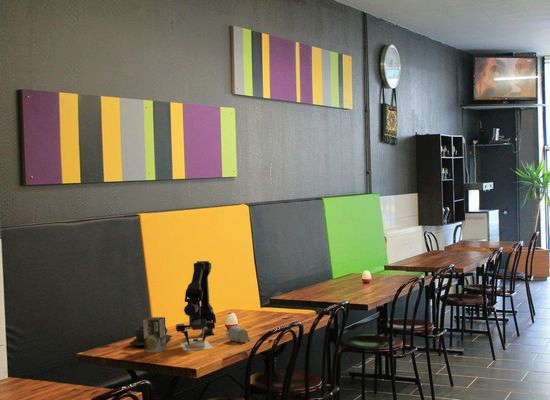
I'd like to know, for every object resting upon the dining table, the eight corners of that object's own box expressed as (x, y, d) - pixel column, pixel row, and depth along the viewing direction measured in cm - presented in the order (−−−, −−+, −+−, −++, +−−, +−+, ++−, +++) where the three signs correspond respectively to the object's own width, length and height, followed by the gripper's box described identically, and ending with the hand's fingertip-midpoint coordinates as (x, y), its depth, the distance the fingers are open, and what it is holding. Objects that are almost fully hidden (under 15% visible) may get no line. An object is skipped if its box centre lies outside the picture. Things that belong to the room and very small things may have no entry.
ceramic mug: (238, 344, 366) (238, 329, 366) (227, 342, 372) (227, 327, 372) (254, 341, 373) (253, 325, 373) (243, 338, 379) (243, 323, 379)
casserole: (152, 337, 391) (151, 321, 391) (180, 339, 382) (180, 323, 382) (121, 347, 369) (120, 330, 369) (150, 350, 360) (149, 333, 360)
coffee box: (167, 350, 359) (165, 317, 359) (160, 353, 353) (159, 319, 353) (150, 349, 362) (149, 316, 362) (143, 352, 356) (142, 319, 356)
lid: (187, 343, 369) (187, 337, 369) (201, 342, 371) (201, 336, 371) (190, 348, 358) (190, 341, 358) (204, 347, 360) (204, 340, 360)
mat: (179, 344, 372) (179, 343, 372) (207, 341, 375) (207, 340, 375) (184, 351, 354) (184, 350, 354) (213, 349, 358) (213, 348, 358)
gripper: (177, 316, 354) (179, 349, 355) (216, 313, 359) (217, 345, 359) (175, 312, 365) (176, 344, 365) (212, 309, 370) (213, 340, 370)
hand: (195, 343), depth 365 cm, fingers closed on lid, 7 cm apart
